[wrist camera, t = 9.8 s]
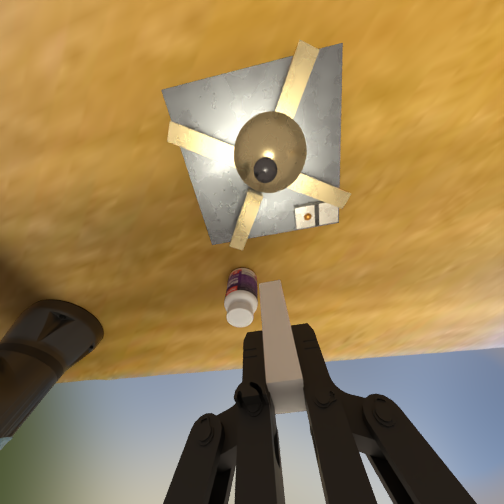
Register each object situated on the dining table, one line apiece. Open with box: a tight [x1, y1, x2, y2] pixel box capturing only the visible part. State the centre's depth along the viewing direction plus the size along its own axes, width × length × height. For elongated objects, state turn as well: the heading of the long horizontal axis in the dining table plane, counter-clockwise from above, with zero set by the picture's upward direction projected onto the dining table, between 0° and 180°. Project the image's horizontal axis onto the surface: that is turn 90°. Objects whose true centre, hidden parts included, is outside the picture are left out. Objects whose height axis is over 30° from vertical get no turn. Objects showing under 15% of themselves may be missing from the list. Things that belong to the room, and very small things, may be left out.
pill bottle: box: [224, 268, 258, 327], centre depth 33 cm, size 5×5×10 cm
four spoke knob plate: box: [167, 40, 351, 250], centre depth 23 cm, size 22×22×4 cm
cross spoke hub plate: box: [162, 43, 343, 245], centre depth 26 cm, size 20×20×3 cm
